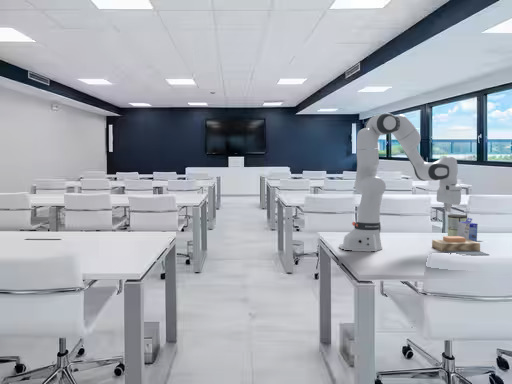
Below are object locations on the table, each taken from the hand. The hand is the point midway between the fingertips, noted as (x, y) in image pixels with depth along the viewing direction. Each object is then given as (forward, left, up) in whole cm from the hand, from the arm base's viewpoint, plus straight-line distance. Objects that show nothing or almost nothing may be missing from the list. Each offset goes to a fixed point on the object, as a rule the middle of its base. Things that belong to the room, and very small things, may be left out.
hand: (447, 211), depth 229 cm
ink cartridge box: (+13, +3, -19) cm, 23 cm away
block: (0, -8, -15) cm, 17 cm away
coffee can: (+16, +20, -19) cm, 32 cm away
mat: (0, -20, -19) cm, 27 cm away
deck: (0, -10, -19) cm, 21 cm away
